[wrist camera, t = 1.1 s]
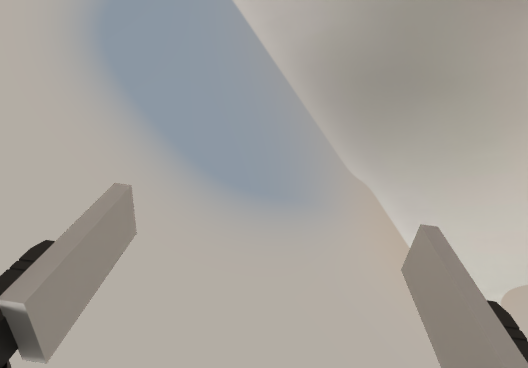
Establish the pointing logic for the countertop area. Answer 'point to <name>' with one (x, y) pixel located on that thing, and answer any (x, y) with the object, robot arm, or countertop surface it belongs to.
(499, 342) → the robot arm
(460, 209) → the countertop surface
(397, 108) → the countertop surface
